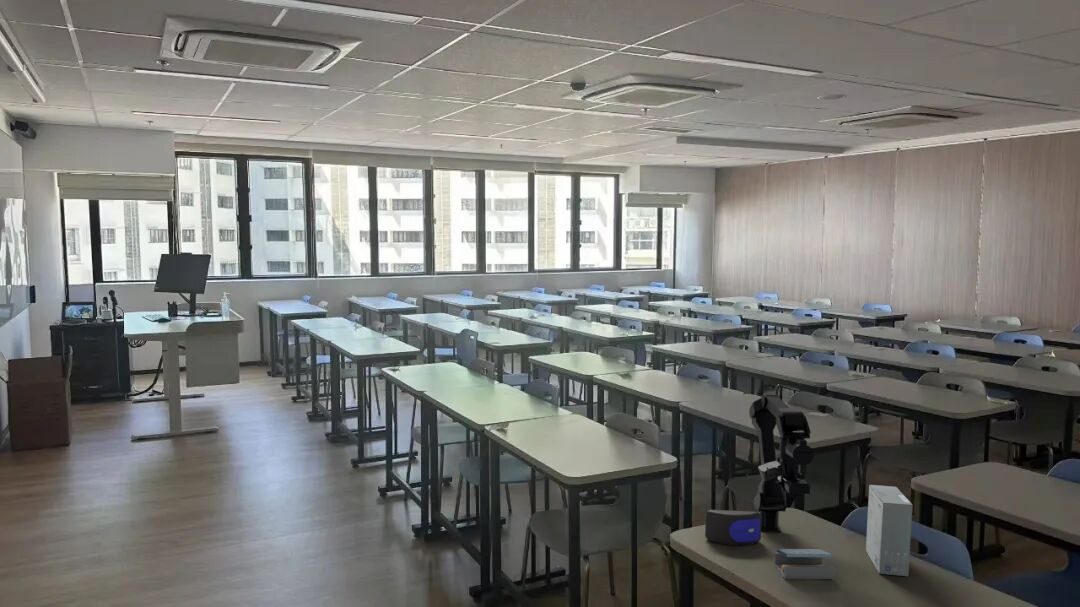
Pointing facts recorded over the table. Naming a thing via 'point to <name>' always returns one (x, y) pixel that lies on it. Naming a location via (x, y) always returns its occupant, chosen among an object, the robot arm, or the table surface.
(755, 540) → the grey blue curved block
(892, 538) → the hard drive box
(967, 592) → the table surface
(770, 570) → the table surface
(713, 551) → the table surface
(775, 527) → the robot arm
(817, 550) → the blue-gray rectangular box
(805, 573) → the cable duct
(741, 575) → the table surface
